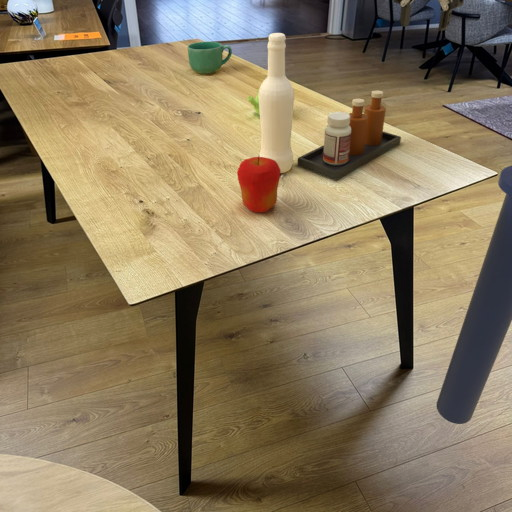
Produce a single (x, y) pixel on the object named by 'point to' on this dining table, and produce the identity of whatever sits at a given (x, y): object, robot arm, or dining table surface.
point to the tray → (335, 172)
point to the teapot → (255, 102)
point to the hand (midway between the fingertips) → (422, 27)
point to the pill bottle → (337, 139)
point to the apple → (259, 183)
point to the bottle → (276, 107)
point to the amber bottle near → (357, 127)
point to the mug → (207, 56)
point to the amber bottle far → (375, 119)
